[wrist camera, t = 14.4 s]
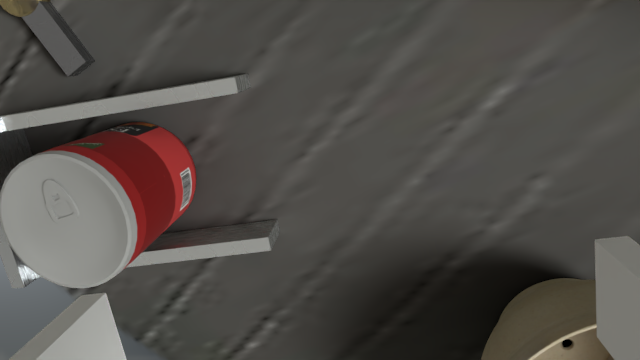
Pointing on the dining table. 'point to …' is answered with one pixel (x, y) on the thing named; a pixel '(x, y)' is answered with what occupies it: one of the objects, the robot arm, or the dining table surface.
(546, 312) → the planter bowl
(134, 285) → the dining table surface
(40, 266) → the canned food
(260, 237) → the channel
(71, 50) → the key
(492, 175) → the dining table surface
